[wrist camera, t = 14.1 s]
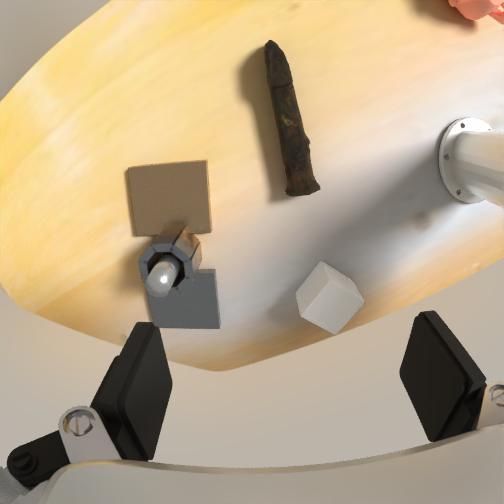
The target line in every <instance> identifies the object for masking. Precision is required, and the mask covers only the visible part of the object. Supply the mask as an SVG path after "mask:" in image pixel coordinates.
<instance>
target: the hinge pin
mask: <svg viewBox="0 0 504 504" xmlns="http://www.w3.org/2000/svg"><path fill="white" fill-rule="evenodd" d="M183 263H184V262H183V261H181V260H180V259H179V258H178V257H177V256H175V255H174V254H173V253H172V252H164V253H163V255H162V256H161V258H160V259H159V261H158V262H157V264H156V265H155V267H154V268H153V270H152V271H151V273H150V274H149V276H148V277H147V279H146V281H145V287H146V290H147V291H148V292H149V293H150V294H151V295H152V296H154V297H164V296H166V295H167V294H168V293H169V291H170V289H171V287H172V285H173V282H174V280H175V278H176V276H177V274H178V272H179V270H180V268H181V266H182V264H183Z"/></svg>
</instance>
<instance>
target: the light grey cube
mask: <svg viewBox="0 0 504 504" xmlns="http://www.w3.org/2000/svg"><path fill="white" fill-rule="evenodd" d="M295 295H296V300H297V304H298V309H299V314H300V316H301V317H302V318H304V319H306V320H308V321H310V322H312V323H313V324H315V325H317V326H319V327H321V328H323V329H325V330H327V331H328V332H330V333H332V334H334V335H336V334H337V333H338V332H339V331H340V330H341V329H342V328H343V327H344V326H345V324H346V323H347V322H348V321H349V320H350V319H351V318H352V317H353V315H354V314H355V313H356V312H357V311H358V310H359V309H360V307H361V306H362V305H363V304H364V303H365V301H364V300H363V298H362V296H361V294H360V292H359V291H358V289H357V287H356V285H355V284H354V282H353V281H352V280H351V279H349V278H348V277H346V276H345V275H343V274H342V273H340V272H339V271H337V270H335V269H334V268H332V267H331V266H329V265H328V264H326V263H325V262H323V261H321V260H320V262H319V263H318V264H317V266H316V267H315V268H314V269H313V271H312V272H311V273H310V275H309V276H308V277H307V278H306V280H305V281H304V282H303V284H302V285H301V286H300V287H299V289H298V290H297V291H296V292H295Z"/></svg>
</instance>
